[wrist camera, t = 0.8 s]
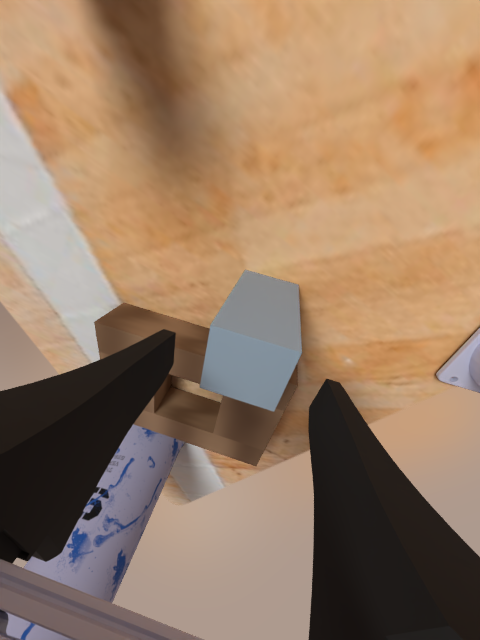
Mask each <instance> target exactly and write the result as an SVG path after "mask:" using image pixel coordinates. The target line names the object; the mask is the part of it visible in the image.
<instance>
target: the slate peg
mask: <svg viewBox="0 0 480 640" xmlns="http://www.w3.org/2000/svg"><path fill="white" fill-rule="evenodd" d="M301 354H302V342H301V323H300V304H299V285H297V284H294V283H290V282H287V281H283V280H280V279H276V278H273V277H269V276H266V275H262V274H259V273H255V272H251V271H248V270H245V271H244V273H243V274H242V276H241V277H240V279H239V280H238V282H237V284H236V285H235V287H234V288H233V290H232V292H231V293H230V295H229V296H228V298H227V300H226V301H225V303H224V304H223V306H222V307H221V309H220V311H219V312H218V314H217V315H216V317H215V319H214V320H213V322H212V323H211V325H210V331H209V337H208V342H207V348H206V354H205V360H204V365H203V371H202V377H201V383H200V388H202V389H206V390H209V391H212V392H215V393H218V394H221V395H224V396H227V397H230V398H233V399H236V400H239V401H242V402H246V403H249V404H252V405H255V406H258V407H261V408H264V409H267V410H270V411H273V412H274V411H275V409H276V406H277V404H278V402H279V400H280V398H281V396H282V394H283V392H284V390H285V388H286V385H287V383H288V381H289V379H290V377H291V375H292V373H293V371H294V369H295V366H296V364H297V362H298V360H299V358H300V356H301Z"/></svg>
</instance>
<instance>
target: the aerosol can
mask: <svg viewBox="0 0 480 640" xmlns="http://www.w3.org/2000/svg"><path fill="white" fill-rule="evenodd" d="M184 443H185V442H183V441H181V440H178V439H175V438H172V437H169V436H166V435H163V434H160V433H157V432H154V431H151V430H148V429H146V428H143V427H140V426H137V425H134V424H133V425H132V427H131V428H130V430H129V431H128V433H127V435H126V436H125V438H124V440H123V441H122V443H121V445H120V446H119V448H118V450H117V451H116V453H115V455H114V456H113V458H112V460H111V462H110V463H109V465H108V467H107V469H106V470H105V472H104V474H103V476H102V477H101V479H100V481H99V483H98V485H97V486H96V488H95V490H94V492H93V494H92V496H91V497H90V499H89V501H88V503H87V505H86V507H85V508H84V510H83V512H82V514H81V516H80V518H79V520H78V522H77V524H76V526H75V528H74V529H73V531H72V533H71V535H70V537H69V539H68V541H67V543H66V545H65V547H64V549H63V551H62V553H61V554H59V555H58V556H56V557H55V558H53V559H51V560H49V561H47V562H45V561H43V560H40V559H37V558H35V557H31V558H30V560H29V561H28V562H27V564H26V565H25V566H24V569H27V570H29V571H32V572H34V573H37V574H39V575H42V576H44V577H47V578H49V579H52V580H54V581H57V582H59V583H62V584H64V585H67V586H70V587H72V588H75V589H77V590H80V591H82V592H85V593H87V594H90V595H92V596H95V597H97V598H100V599H102V600H105V601H107V602H110V603H112V602H113V600H114V597H115V595H116V593H117V591H118V588H119V586H120V584H121V582H122V579H123V577H124V575H125V573H126V570H127V568H128V566H129V564H130V561H131V559H132V557H133V554H134V552H135V550H136V548H137V545H138V543H139V541H140V539H141V536H142V534H143V532H144V530H145V527H146V525H147V523H148V521H149V518H150V516H151V514H152V511H153V509H154V507H155V505H156V502H157V500H158V498H159V496H160V493H161V491H162V489H163V487H164V484H165V482H166V480H167V478H168V475H169V473H170V471H171V469H172V466H173V464H174V462H175V459H176V457H177V455H178V453H179V450H180V449H181V448H182V447H183V445H184ZM6 613H7V612H6ZM7 614H8V619H9V621H8V625H7V628H6V633H7V635H10V636H13V637H16V638H19V639H22V640H72V639H70V638H67V637H65V636H62V635H60V634H58V633H55V632H53V631H50V630H48V629H45V628H43V627H41V626H38V625H36V624H33V623H31V622H29V621H26V620H24V619H21V618H19V617H16V616H14V615H12V614H9V613H7Z"/></svg>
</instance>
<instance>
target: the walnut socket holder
mask: <svg viewBox="0 0 480 640" xmlns="http://www.w3.org/2000/svg"><path fill="white" fill-rule="evenodd" d="M94 323H95V330H96V336H97V342H98V348H99V355H100V360H101V359H103V358H105V357H107V356H110V355H112V354H114V353H116V352H119V351H121V350H123V349H125V348H127V347H129V346H131V345H133V344H135V343H137V342H139V341H141V340H143V339H145V338H147V337H149V336H151V335H153V334H155V333H157V332H159V331H161V330H163V329H166V330H169V331H172V332H176V338H175V351H174V364H173V366H172V368H171V370H170V372H169V374H168V375H167V377H166V379H165V381H164V382H163V384H162V385H161V387H160V388H159V389H158V391H157V392H156V394H155V395H154V396H153V398H152V399H151V401H150V402H149V403H148V405H147V406H146V407H145V409H144V410H143V412H142V413H141V414H140V416H139V417H138V418H137V420H136V421H135V423H134V425H137V426H140V427H143V428H146V429H148V430H151V431H154V432H157V433H160V434H163V435H166V436H169V437H172V438H175V439H178V440H181V441H183V442H186V443H189V444H192V445H195V446H198V447H201V448H204V449H207V450H210V451H213V452H216V453H219V454H221V455H224V456H227V457H230V458H233V459H236V460H239V461H242V462H245V463H248V464H251V465H254V466H257V464H258V462H259V460H260V458H261V456H262V454H263V452H264V450H265V448H266V446H267V444H268V442H269V440H270V438H271V436H272V434H273V432H274V431H275V429H276V427H277V425H278V423H279V421H280V419H281V417H282V415H283V413H284V411H285V409H286V407H287V405H288V403H289V401H290V399H291V397H292V395H293V394H294V392H295V390H296V388H297V386H298V384H297V364H296V366H295V369H294V371H293V373H292V375H291V377H290V379H289V381H288V383H287V385H286V388H285V390H284V392H283V394H282V396H281V398H280V400H279V402H278V404H277V406H276V409H275V411H274V412H273V411H270V410H267V409H264V408H261V407H258V406H255V405H252V404H249V403H246V402H242V401H239V400H236V399H233V398H230V397H227V396H224V395H223V398H222V402H221V403H219V402H216V401H213V400H210V399H207V398H204V397H201V396H198V395H195V394H192V393H189V392H185V391H182V390H179V389H176V388H173V387H171V379H172V375H174V376H177V377H180V378H183V379H186V380H189V381H192V382H195V383H198V384H200V383H201V377H202V371H203V365H204V360H205V354H206V348H207V342H208V337H209V331H210V329H208V328H205V327H202V326H199V325H195V324H192V323H189V322H185V321H182V320H179V319H176V318H172V317H169V316H166V315H162V314H159V313H156V312H152V311H149V310H146V309H143V308H139V307H136V306H133V305H129V304H126V303H123V304H121V305H120V306H118V307H117V308H115V309H113V310H112V311H110V312H109V313H107V314H106V315H104V316H103V317H101V318H100V319H98V320H97V321H95V322H94Z"/></svg>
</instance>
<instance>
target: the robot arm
mask: <svg viewBox="0 0 480 640" xmlns="http://www.w3.org/2000/svg"><path fill="white" fill-rule="evenodd" d="M175 338H176V332H172V331H169V330H166V329H163V330H161V331H159V332H157V333H155V334H153V335H151V336H149V337H147V338H145V339H143V340H141V341H139V342H137V343H135V344H133V345H131V346H129V347H127V348H125V349H123V350H121V351H119V352H116V353H114V354H112V355H110V356H107V357H105V358H103V359H101V360H98V361H96V362H93V363H91V364H88V365H86V366H83V367H80V368H78V369H75V370H72V371H69V372H66V373H63V374H60V375H57V376H54V377H51V378H47V379H44V380H41V381H38V382H34V383H31V384H27V385H24V386H19V387H15V388H12V389H8V390H4V391H0V640H22V639H19V638H16V637H13V636H10V635H7V633H6V628H7V625H8V621H9V619H8V614H7V613H9V614H12V615H14V616H16V617H19V618H21V619H24V620H26V621H29V622H31V623H33V624H36V625H38V626H41V627H43V628H45V629H48V630H50V631H53V632H55V633H58V634H60V635H62V636H65V637H67V638H70V639H72V640H203V639H201V638H198V637H196V636H193V635H190V634H188V633H186V632H183V631H181V630H178V629H175V628H173V627H170V626H168V625H165V624H163V623H160V622H158V621H155V620H153V619H150V618H148V617H145V616H143V615H140V614H138V613H135V612H133V611H130V610H127V609H125V608H122V607H120V606H117V605H115V604H112V603H110V602H107V601H105V600H102V599H100V598H97V597H95V596H92V595H90V594H87V593H85V592H82V591H80V590H77V589H75V588H72V587H70V586H67V585H64V584H62V583H59V582H57V581H54V580H52V579H49V578H47V577H44V576H42V575H39V574H37V573H34V572H32V571H29V570H27V569H24V568H22V567H19V566H16V565H14V564H12V563H13V562H14V560H15V559H16V558H20V559H23V560H25V561H28V560H30V558H31V557H35V558H37V559H40V560H43V561H45V562H47V561H49V560H51V559H53V558H55V557H56V556H58V555H59V554H61V553H62V551H63V549H64V547H65V545H66V543H67V541H68V539H69V537H70V535H71V533H72V531H73V529H74V528H75V526H76V524H77V522H78V520H79V518H80V516H81V514H82V512H83V510H84V508H85V507H86V505H87V503H88V501H89V499H90V497H91V496H92V494H93V492H94V490H95V488H96V486H97V485H98V483H99V481H100V479H101V477H102V476H103V474H104V472H105V470H106V469H107V467H108V465H109V463H110V462H111V460H112V458H113V456H114V455H115V453H116V451H117V450H118V448H119V446H120V445H121V443H122V441H123V440H124V438H125V436H126V435H127V433H128V431H129V430H130V428H131V427H132V425H133V424H134V423H135V421H136V420H137V418H138V417H139V416H140V414H141V413H142V412H143V410H144V409H145V407H146V406H147V405H148V403H149V402H150V401H151V399H152V398H153V396H154V395H155V394H156V392H157V391H158V389H159V388H160V387H161V385H162V384H163V382H164V381H165V379H166V377H167V375H168V374H169V372H170V370H171V368H172V366H173V364H174V351H175ZM436 376H437V378H438V379H439V380H440V381H442V382H445V383H448V384H452V385H455V386H458V387H462V388H465V389H469V390H472V391H476V392H479V393H480V328H479V329H478V330H477V331H476V332H475V333H474V334H473V335H472V336H471V337H470V338H469V340H468V341H467V342H466V343H465V344H464V345H463V346H462V347H461V348H460V349H459V350H458V351H457V352H456V353H455V354H454V355H453V356H452V357H451V358H450V359H449V360H448V361H447V363H446V364H445V365H444V366H443V367H442V368H441V369H440V370H439V371H438V372H437V373H436ZM451 377H453V378H451ZM309 441H310V453H311V464H312V473H313V486H314V552H313V579H312V598H311V614H310V630H309V640H480V557H479V556H478V555H477V554H476V553H475V552H474V551H473V550H472V549H471V548H470V547H469V546H468V545H467V544H466V543H465V542H464V541H463V540H462V539H461V537H460V536H459V535H458V534H457V533H456V532H455V531H454V530H453V529H452V528H451V527H450V526H449V525H448V524H447V523H446V522H445V521H444V519H443V518H442V517H441V516H440V515H439V514H438V513H437V512H436V511H435V510H434V509H433V508H432V506H431V505H430V504H429V503H428V502H427V501H426V500H425V498H424V497H423V496H422V495H421V494H420V493H419V491H418V490H417V489H416V488H415V487H414V486H413V484H412V483H411V482H410V481H409V479H408V478H407V477H406V476H405V475H404V473H403V472H402V471H401V470H400V469H399V467H398V466H397V465H396V463H395V462H394V461H393V460H392V458H391V457H390V456H389V454H388V453H387V452H386V450H385V449H384V448H383V446H382V445H381V443H380V442H379V441H378V440H377V438H376V437H375V435H374V434H373V432H372V431H371V429H370V428H369V427H368V425H367V423H366V422H365V420H364V419H363V417H362V416H361V414H360V413H359V411H358V410H357V408H356V407H355V405H354V404H353V402H352V400H351V399H350V397H349V396H348V394H347V393H346V391H345V390H344V388H343V387H342V385H341V384H340V383H339V382H336V381H332V380H329V379H326V380H325V382H324V384H323V385H322V387H321V389H320V390H319V392H318V394H317V395H316V397H315V399H314V400H313V402H312V404H311V405H310V407H309ZM6 612H7V613H6Z"/></svg>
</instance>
